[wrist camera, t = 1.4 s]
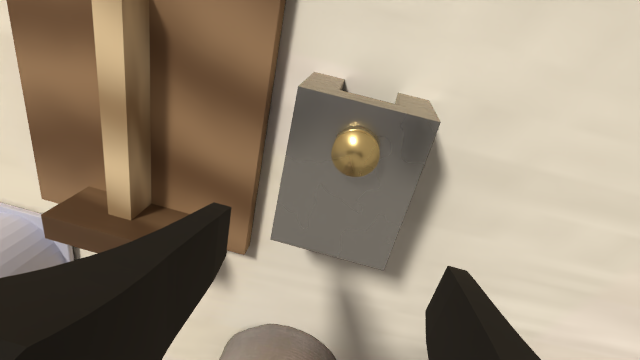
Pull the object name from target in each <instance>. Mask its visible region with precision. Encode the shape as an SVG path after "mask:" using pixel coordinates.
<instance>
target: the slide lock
mask: <svg viewBox="0 0 640 360" xmlns="http://www.w3.org/2000/svg"><path fill="white" fill-rule="evenodd" d="M344 80H345V79H341V78H337V77H333V76H329V75H325V74H321V73H317V72H314V73H313V74H311V75H310V76H309V77H308V78H307V79H306V80H305V81H304V82H302V83H301V84H300V85H299V86H298V90H297V96H296V101H295V107H294V112H293V118H292V123H291V129H290V134H289V140H288V145H287V151H286V157H285V162H284V168H283V173H282V179H281V184H280V190H279V195H278V201H277V206H276V212H275V217H274V223H273V228H272V234H271V240H274V241H278V242H281V243H285V244H289V245H292V246H296V247H300V248H303V249H307V250H311V251H314V252H318V253H322V254H325V255H329V256H333V257H336V258H340V259H343V260H347V261H351V262H354V263H358V264H362V265H365V266H369V267H373V268H376V269H380V270H384V269H385V266H386V263H387V261H388V258H389V256H390V253H391V250H392V248H393V245H394V243H395V240H396V237H397V235H398V232H399V230H400V227H401V224H402V222H403V219H404V217H405V214H406V211H407V209H408V206H409V203H410V201H411V198H412V196H413V193H414V190H415V188H416V185H417V183H418V180H419V177H420V175H421V172H422V170H423V167H424V164H425V162H426V159H427V157H428V154H429V151H430V149H431V146H432V144H433V141H434V138H435V136H436V133H437V131H438V128H439V125H440V123H441V122H440V120H439V118H438V116H437V114H436V112H435V111H434V109H433V107H432V105H431V103H430V101H429V100H425V99H421V98H417V97H413V96H409V95H405V94H401V93H398V95H397V98H396V101H395V104H393V103H389V102H385V101H381V100H377V99H373V98H369V97H365V96H361V95H357V94H353V93H349V92H345V91H342V88H343V84H344Z"/></svg>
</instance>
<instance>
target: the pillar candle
mask: <svg viewBox="0 0 640 360" xmlns="http://www.w3.org/2000/svg"><path fill="white" fill-rule="evenodd" d="M219 360H336V359H335V358H334V356H333V354H332V353H331V352H330V351H329V349H328V348H327V347H326V346H325V345H323V344H322V343H321V342H320V341H318V340H317V339H315V338H314V337H313V336H311V335H309V334H307V333H305V332H303V331H299V330H297V329H295V328H292V327H289V326H282V325H278V324H266V325H261V326H258V327H254V328H250V329H247V330H244V331H242V332H239V333H237V334H235V335H234V336H233V337H232V338H231V339H230V340H229V342H228V343H227V344H226V346H225V348H224V351H223V353H222V355H221V357H220V359H219Z"/></svg>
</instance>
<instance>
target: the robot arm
mask: <svg viewBox="0 0 640 360" xmlns="http://www.w3.org/2000/svg"><path fill="white" fill-rule="evenodd" d="M231 208H232V207H230V206H226V205H222V204H219V203H215V202H213V203H211V204H209V205H207V206H205V207H203V208H201V209H199V210H197V211H195V212H193V213H192V214H190V215H188V216H186V217H184V218H182V219H180V220H178V221H176V222H173V223H171V224H169V225H167V226H165V227H163V228H161V229H159V230H156V231H154V232H152V233H150V234H147V235H145V236H143V237H140V238H138V239H136V240H134V241H131V242H129V243H126V244H123V245H121V246H118V247H115V248H112V249H109V250H107V251H104V252H101V253H98V254H95V255H92V256H88V257H85V258H81V259H78V260H74V256H73V249H72V246H70V245H67V244H63V243H60V242H56V241H53V240H49V239H46V238H45V235H44V230H43V224H42V219H41V215H42V214H40V213H37V212H33V211H30V210H26V209H22V208H19V207H15V206H12V205H8V204H5V203H1V202H0V360H162V358H163V356H164V355H165V353H166V351H167V349H168V348H169V346H170V345H171V343H172V341H173V340H174V338H175V337H176V335H177V334H178V332H179V331H180V329H181V328H182V327H183V325H184V324H185V322H186V321H187V319H188V318H189V316H190V315H191V313H192V312H193V310H194V309H195V307H196V306H197V305H198V303H199V302H200V300H201V299H202V297H203V296H204V294H205V293H206V291H207V290H208V288H209V287H210V285H211V284H212V282H213V281H214V279H215V277H216V275H217V273H218V271H219V269H220V267H221V265H222V263H223V261H224V259H225V257H226V253H227V244H228V235H229V226H230V217H231ZM426 344H427V351H428V358H429V360H541V359H540V358H539V357H538V356H537V355H536V354H535V353H534V351H533V350H532V349H531V348H530V347H529V346H528V345H527V344H526V342H525V341H524V340H523V339H522V338H521V337H520V336H519V334H518V333H517V332H516V331H515V330H514V328H513V327H512V326H511V325H510V324H509V322H508V321H507V320H506V319H505V318H504V316H503V315H502V314H501V313H500V311H499V310H498V309H497V308H496V306H495V305H494V304H493V303H492V301H491V300H490V299H489V297H488V296H487V295H486V294H485V292H484V291H483V290H482V289H481V287H480V286H479V285H478V284H477V282H476V281H475V280H474V279H473V277H472V276H471V275H470V274H469V273H468V272H467V271H465V270H462V269H458V268H454V267H451V266H447V268H446V270H445V272H444V274H443V276H442V279H441V281H440V283H439V285H438V287H437V289H436V291H435V293H434V295H433V297H432V299H431V301H430V303H429V305H428V307H427V309H426Z"/></svg>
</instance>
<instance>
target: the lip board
mask: <svg viewBox="0 0 640 360" xmlns="http://www.w3.org/2000/svg"><path fill="white" fill-rule="evenodd" d="M285 3H286V0H7V5H8V11H9V17H10V22H11V28H12V34H13V39H14V45H15V50H16V56H17V62H18V67H19V73H20V78H21V84H22V90H23V95H24V101H25V107H26V112H27V118H28V123H29V129H30V135H31V140H32V146H33V151H34V157H35V163H36V168H37V174H38V180H39V185H40V191H41V196H42V199H44V200H48V201H52V202H55V203H59V204H58V205H57V206H55V207H53V208H52V209H50V210H48V211H47V212H45V213H43V214H42V215H41V219H42V224H43V230H44V235H45V238H46V239H49V240H53V241H56V242H60V243H63V244H67V245H70V246H74V247H78V248H81V249H85V250H88V251H92V252H95V253H101V252H104V251H107V250H109V249H112V248H115V247H118V246H121V245H123V244H126V243H129V242H131V241H134V240H136V239H138V238H140V237H143V236H145V235H147V234H150V233H152V232H154V231H156V230H159V229H161V228H163V227H165V226H167V225H169V224H171V223H173V222H176V221H178V220H180V219H182V218H184V217H186V216H188V215H190V214H192V213H193V212H195V211H197V210H199V209H201V208H203V207H205V206H207V205H209V204H211V203H213V202H215V203H219V204H222V205H226V206H230V207H232V208H231V217H230V226H229V235H228V244H227V250H228V251H232V252H236V253H239V254H243V255H244V254H245V253H246V251H247V249H248V247H249V245H250V239H251V232H252V225H253V218H254V212H255V205H256V198H257V191H258V185H259V178H260V171H261V164H262V158H263V151H264V144H265V137H266V131H267V124H268V117H269V110H270V104H271V97H272V90H273V84H274V77H275V70H276V63H277V57H278V50H279V43H280V36H281V30H282V23H283V16H284V9H285Z"/></svg>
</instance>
